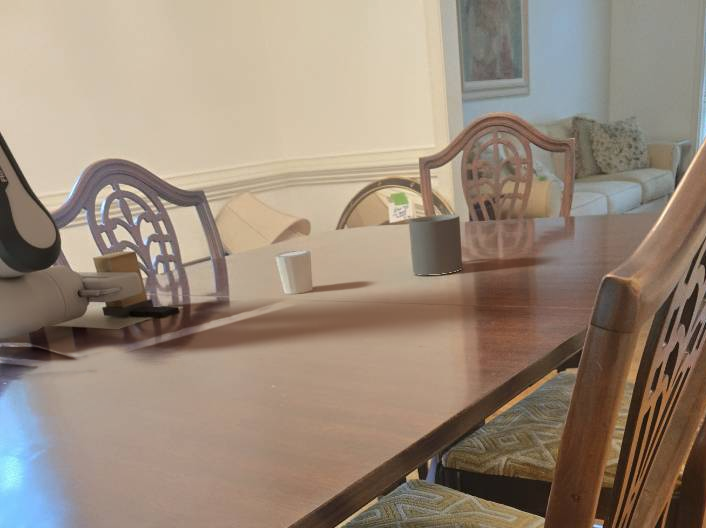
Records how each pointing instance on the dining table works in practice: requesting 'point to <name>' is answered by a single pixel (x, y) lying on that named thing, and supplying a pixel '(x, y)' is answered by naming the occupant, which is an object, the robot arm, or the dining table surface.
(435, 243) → the coffee mug
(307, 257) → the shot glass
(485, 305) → the dining table surface
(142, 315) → the smudge
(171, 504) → the dining table surface
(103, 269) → the eraser
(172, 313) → the flat black square block
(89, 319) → the note board
